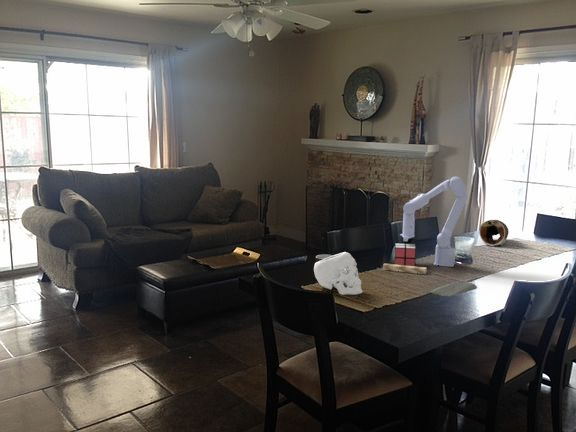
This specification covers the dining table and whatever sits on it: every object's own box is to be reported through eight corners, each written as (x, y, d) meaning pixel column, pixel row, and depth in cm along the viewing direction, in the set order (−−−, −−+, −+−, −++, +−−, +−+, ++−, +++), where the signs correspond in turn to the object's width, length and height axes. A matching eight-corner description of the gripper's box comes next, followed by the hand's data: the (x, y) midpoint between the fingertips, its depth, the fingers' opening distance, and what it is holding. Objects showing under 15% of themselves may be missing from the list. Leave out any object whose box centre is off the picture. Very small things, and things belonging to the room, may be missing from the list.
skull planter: (356, 295, 205) (338, 250, 207) (320, 308, 217) (303, 266, 220) (374, 287, 215) (357, 245, 218) (338, 300, 228) (322, 260, 230)
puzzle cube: (415, 268, 251) (416, 248, 250) (394, 267, 253) (394, 247, 252) (414, 263, 261) (415, 244, 260) (394, 262, 263) (394, 243, 261)
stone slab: (477, 291, 222) (457, 283, 229) (479, 285, 221) (458, 277, 228) (447, 302, 208) (427, 293, 215) (448, 296, 207) (428, 287, 214)
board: (426, 272, 244) (426, 267, 244) (425, 274, 241) (425, 269, 241) (384, 268, 252) (384, 263, 251) (382, 269, 249) (383, 264, 249)
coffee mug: (321, 281, 230) (322, 260, 228) (312, 277, 237) (312, 255, 236) (343, 278, 235) (344, 257, 233) (333, 273, 243) (333, 253, 241)
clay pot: (513, 220, 315) (505, 218, 295) (514, 245, 314) (506, 245, 293) (488, 221, 324) (478, 219, 303) (489, 246, 322) (479, 245, 302)
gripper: (403, 223, 269) (402, 248, 271) (397, 228, 256) (396, 254, 258) (417, 224, 266) (416, 250, 268) (412, 229, 253) (411, 256, 255)
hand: (407, 252), depth 263 cm, fingers closed
